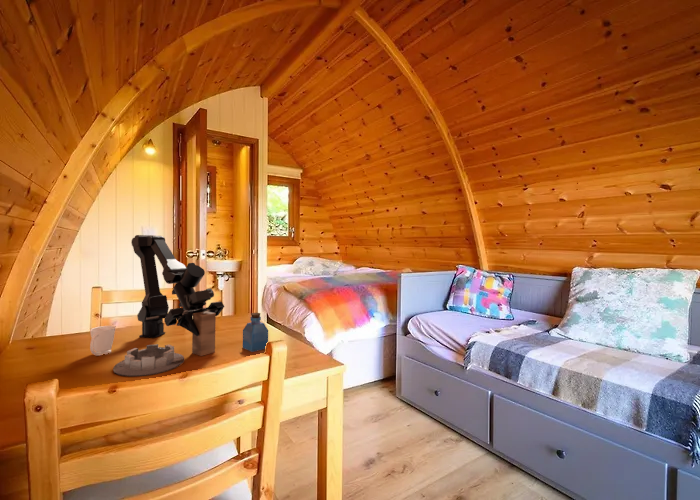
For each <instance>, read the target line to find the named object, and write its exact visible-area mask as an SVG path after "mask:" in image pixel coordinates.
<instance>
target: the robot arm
mask: <svg viewBox="0 0 700 500" xmlns="http://www.w3.org/2000/svg"><path fill="white" fill-rule="evenodd" d="M131 246H132V248H133V252H134V254H135V255H136V257H138V258H139V259H140V267H141V272H142V279H143V286H144V292H145V295H144V297H143V299H142V301H141V308H140V310H139V311H138V313H137V316H136V317H137V321H138V322H141V334H140V335H138V337H139V338H152V339H153V338H158V337H160V336H162V335H164V334H166V331H165V326H164V325H166V326H167V327H169V326H170V327H171V326H175V325H176V326H177V327H182V328H183V329H185V330H187V331H189V332H190V333H191V334H192V333H193V334H195V335H196V336H199V331H198V329H197V327H196V325H195V323H194V321H193V313H199V312H205V311H208V312H213V313H216V317H218V316H219V315H220V314H221V312H222V311H223V309H224V308H225V304H224V302H222V301H220V300H219V301H213V302H210V303H209V305H208V306H207V307H204V306H206V305H207V301H209V300H212V298H214V297H215V293H214V290H213V289H212V287H211V288H206V289H204V290H197V291H195V288H196V287H198V285H199V284H200V282H201V280H202V279H203V277H204V276H205V273H206V272H205V269H204V268H202V267H201V266H199V265H198V264H195V262H188V263H187V265H185V264H184V263H182V262H180V261H178V260H177V259H176V257H175V255H174V254H173V252H172V250H171V249H170V248H169V246H168V243H166V238H165V237H164V236H163V235H152V234H151V235H149V234H145V235H144V234H136V235H135V236H134V237H132V239H131ZM156 258H157V259H158V261H159V263H160V265H161V267H162V269H163V270H162V272H161V273H162V274H161V275H162V277H163V280H164V281H165V283H166V284H168V285H169V284H170V285H171V284H175V285H174V286H172V287H173V289H172V291H171V295H176V297H177V299H178V301H179V303H178V306H179V307H176V308H175V307H174V308H171V309H169V308H170V307H169V302H168V297H167V295H166V294H162V292H161V288H160V282H159V277H158V275H159V274H158V272H157V271H158V270H157V263H156ZM163 320H164V321H163Z"/></svg>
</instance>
